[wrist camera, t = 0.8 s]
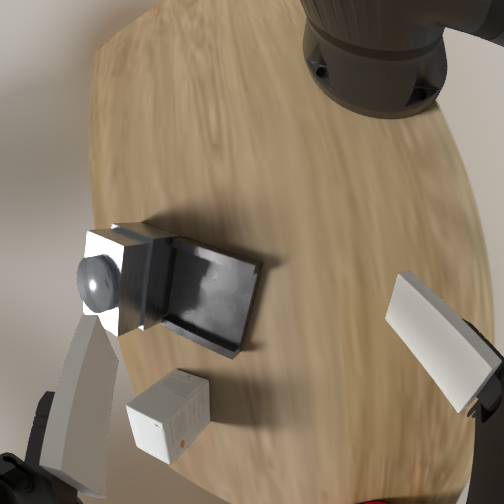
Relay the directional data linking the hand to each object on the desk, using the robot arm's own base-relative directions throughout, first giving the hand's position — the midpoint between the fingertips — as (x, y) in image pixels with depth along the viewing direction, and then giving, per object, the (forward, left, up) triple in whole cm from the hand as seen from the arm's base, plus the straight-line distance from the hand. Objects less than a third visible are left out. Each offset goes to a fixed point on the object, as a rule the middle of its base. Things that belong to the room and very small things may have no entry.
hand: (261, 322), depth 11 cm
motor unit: (+7, -15, -17) cm, 24 cm away
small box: (+23, -11, -17) cm, 31 cm away
